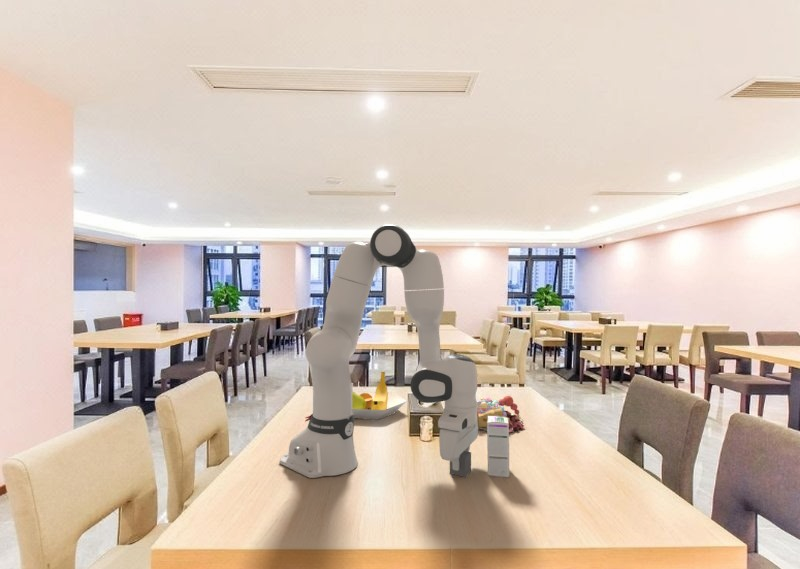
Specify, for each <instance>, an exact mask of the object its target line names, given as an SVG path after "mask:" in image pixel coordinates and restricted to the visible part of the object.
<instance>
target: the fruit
mask: <svg viewBox="0 0 800 569" xmlns="http://www.w3.org/2000/svg"><path fill="white" fill-rule="evenodd" d="M380 372H381V373H380V380H379V382H378V384H377V386H376V387H375V388H376V389H375V391H361V390H359V391H358V390H357V391H356V392H354V391H353V392H352V413H353V414H354V419H355V418H366V419H365V420H382V419H384V418H386V417H388V415H389V416H391V415H393V414H395V413H396V412H397V411H398V410H399V409H401V407H403V406H404V405H405V404H406V403H407V402H408V401H407V400H406V399H404V398H403V397H401V396H398V395H397V394H396V393H395V392H392V391H391V392H389V391H388V387H387V384H386V372H385V371H380ZM387 405H388V406H389V407H390V408H387ZM368 408H369V409H368ZM394 412H395V413H394ZM392 413H393V414H392ZM390 414H391V415H390ZM385 416H386V417H385ZM383 417H384V418H383Z"/></svg>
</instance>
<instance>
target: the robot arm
mask: <svg viewBox="0 0 800 569" xmlns="http://www.w3.org/2000/svg"><path fill="white" fill-rule="evenodd" d="M380 268H398V269H399V270H400V271H401V273H402V276H403V287H404V288H403V289H404V291H403V292H404V301H405V306H406V312H407V315H408V316H409V319H411V320H412V322H413V323H414V326H415V327H416V331H417V336H418V349H419V361H418V365H417V367H416V370H415V371H414V374H413V375H412V378H411V380H410V387H409V388H410V391H411V393H412V395H413V397H414V398H415V399H416V400H418V401H419V402H421V403H426V404H431V403H440V402H444V408H443V412H442V414H441V415H440V417H439V419H438V421H437V428H439V435H438V436H439V438H438V439H439V440H438V441H439V455H440V458H441V459H442V460H444V461H449V462H450V461H452V468H453V470H456V471H458V470H459V469H460V468H461V466H460V465H461V462H459V458H460V454H461V453H463V452H464V451H467V452H470V448H471V445H472V444H473V443H474V442H475V441H476V440H477V439H478V436H479V429H478V420H477V401H478V400H477V391H478V373H477V371H478V370H477V366H476V363H475V361H474V360H473V359H472V358H471V357H469V356H467V355H463V354H459V353H458V354H457V353H452V354H451V353H450V354H448V355H447V356H445V357H444V358H443V359H442V355H441V340H440V326H441V325H440V324H441V320H442V317H443V311H444V303H445V287H444V277H443V276H444V274H443V270H442V266H441V261H440V258H439V256H438V254H436V253H435V252H434V251H431V250H428V249H417V247H416V246H415V244H414V242H413V241H412V239H411V237H410V235H409V234H408V233H407V231H405V230H404V229H403V228H402V227H400V226H398V225H395V224H385V225H384V224H383V225H381V226H380V227H378V228H377V229H376V230H374V232H373V234H371V237H370V242H362V241H353V242H349V243H348V244H347V245H346V246H345V247H344V249H343V251H342V253H341V255H340V257H339V259H338V262H337V265H336V267H335V269H334V273H333V277H332V280H331V283H330V287H329V289H328V290H329V291H328V293H327V297H326V299H325V300H326V301H325V312H324V314H325V315H324V320H323V321H324V322H323V326H322V328H321V329H320V330H318V331H317V332H315V333H314V334H313V335H312V336H311V337H310V338H309V340H308V341H307V342H308V343H307V344H306V348H305V357H306V359H307V361H308V365H309V370H310V377H311V382H312V383H311V384H312V414H310V415H308V416H306V417H305V420H304V422H308V425H307V427H305V428H304V429H303V430H301V431H300V432H299V433H298V434H297V435H296V436H294V437H293V438H292V439H291V440H290V442H289V447H288V452H286V453H285V454H284V455H282V457H281V458H280V460H279V464H280V465H283V466H284V467H286V468H288V469H291V470H293V471H295V472H297V473H298V474H301V475H303V476H305V477H307V478H310V479H315V478H320V477H328V476H329V477H330V476H339V475H343V474H346V473H349V472H351V471H353V470H354V469H355V468H357V467H358V464H359V462H358V459H357V455H356V450H355V444H354V443H355V442H354V427H355V418H354V414H353V413H352V392H354V391H353V388H354V387H353V383H352V378H351V371H350V358H352V356H353V355H354V353H355V351H356V349H357V344H358V340H359V336H360V332H361V329H362V328H361V327H362V322H363V316H364V313H365V309H366V306H367V302H368V297H369V295H370V291H371V288H372V284H373V281H374V277H375V274H376V272H377V270H378V269H380Z"/></svg>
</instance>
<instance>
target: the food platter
mask: <svg viewBox="0 0 800 569" xmlns="http://www.w3.org/2000/svg"><path fill="white" fill-rule="evenodd" d="M476 401H477V420H478V430H482V431H483V430H484V431H486V432H487V419H488V416H503V417H507V418H508V423H509V433H512V432H514V431H515V432H516V431H517V432H520V430H519V429H521V430H523V429H524V428H525V425H524V424H523V419H522V417H521V416H520V410H519V409H518V405H517V403H514V398H513V397H512V396H511V395H505V396H503V398H501V399H499V400H498V401H497V400H492V399H491V398H490V397H487V396H486V397H484V398H483V397H481V398H480V399H479V400H476ZM504 406H505V407H510V409H511V410H512V411H514V414H513V413H511V412H510V411H508V410H505V407H504Z"/></svg>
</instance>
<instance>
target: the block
mask: <svg viewBox="0 0 800 569" xmlns="http://www.w3.org/2000/svg"><path fill="white" fill-rule="evenodd" d="M459 462H461V465H460V466H461V468H460V469H459V470H458V471H456V470H453V468H452V461H449V474H452V475H455V476H460V477H463V478H466V477H467V476H468V475H469V473H470V472H471V471H472V452H470V451H469V452H467V451H464V452H463V453H461V454H460V458H459Z"/></svg>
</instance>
